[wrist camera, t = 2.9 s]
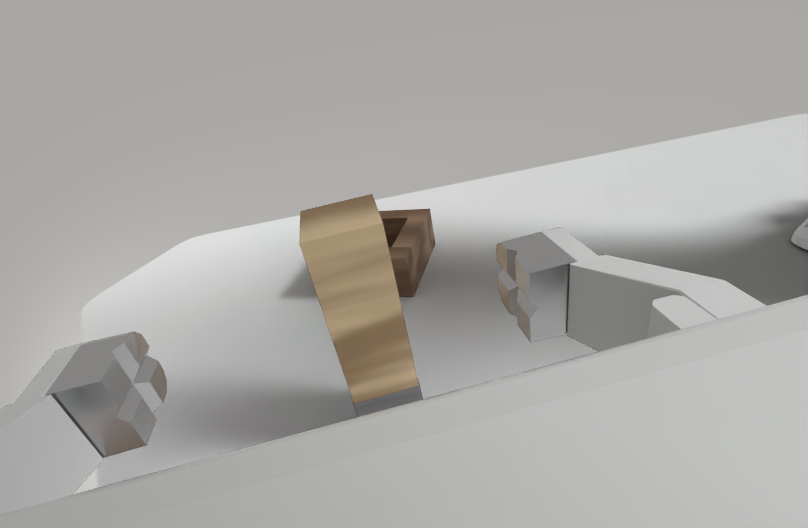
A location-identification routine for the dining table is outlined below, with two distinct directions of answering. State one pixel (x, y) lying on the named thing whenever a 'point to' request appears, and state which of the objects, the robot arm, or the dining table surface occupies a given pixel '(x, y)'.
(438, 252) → the dining table surface
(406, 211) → the wooden square ring
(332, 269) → the light wooden block
